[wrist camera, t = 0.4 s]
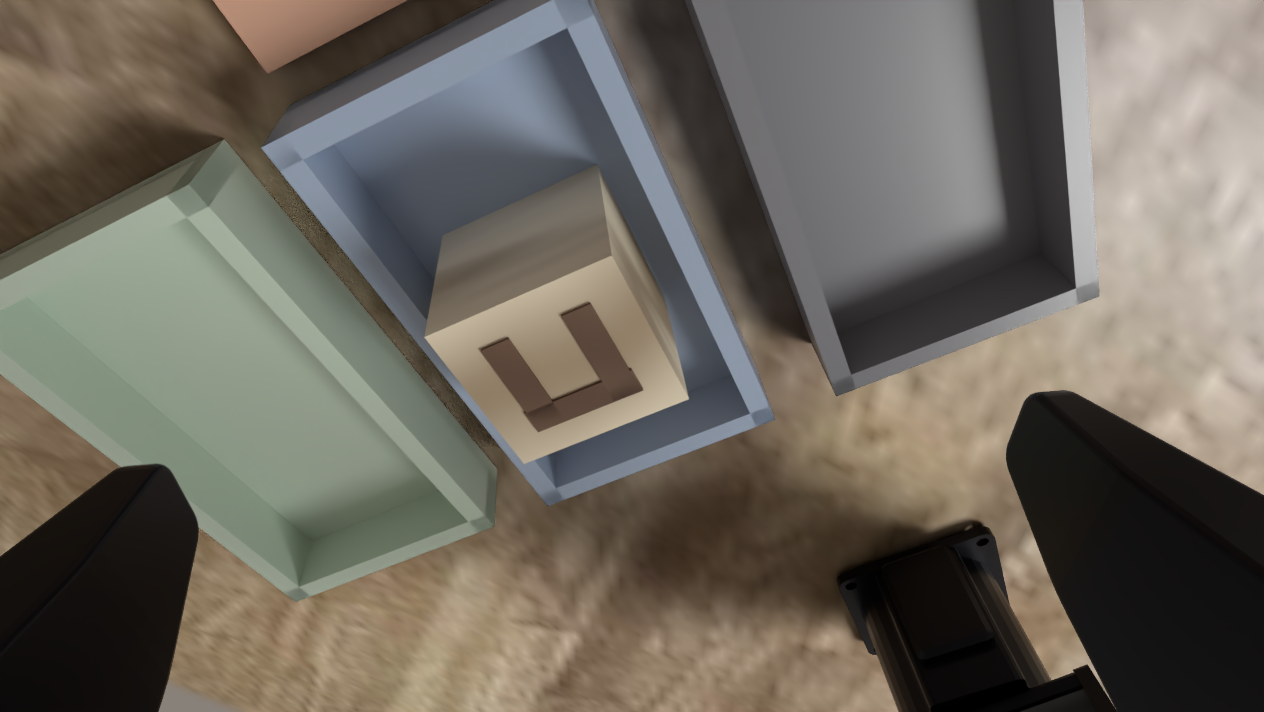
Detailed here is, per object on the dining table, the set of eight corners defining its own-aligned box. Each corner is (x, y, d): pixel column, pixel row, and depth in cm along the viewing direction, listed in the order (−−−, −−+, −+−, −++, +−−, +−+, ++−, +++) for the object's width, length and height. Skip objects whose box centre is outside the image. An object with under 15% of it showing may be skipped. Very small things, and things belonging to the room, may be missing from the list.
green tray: (497, 469, 27) (494, 526, 25) (312, 542, 28) (295, 602, 26) (224, 138, 19) (188, 184, 17) (-15, 262, 20) (-74, 317, 18)
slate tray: (756, 367, 25) (775, 419, 23) (546, 450, 26) (547, 506, 24) (575, -42, 17) (580, -15, 15) (289, 105, 19) (261, 147, 17)
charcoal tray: (1051, 250, 23) (1099, 296, 22) (812, 345, 25) (836, 396, 23) (1000, -262, 16) (1068, -263, 14) (653, -83, 17) (669, -60, 15)
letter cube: (664, 296, 22) (689, 400, 19) (525, 354, 23) (524, 466, 20) (597, 164, 20) (612, 256, 16) (442, 235, 20) (423, 339, 17)
